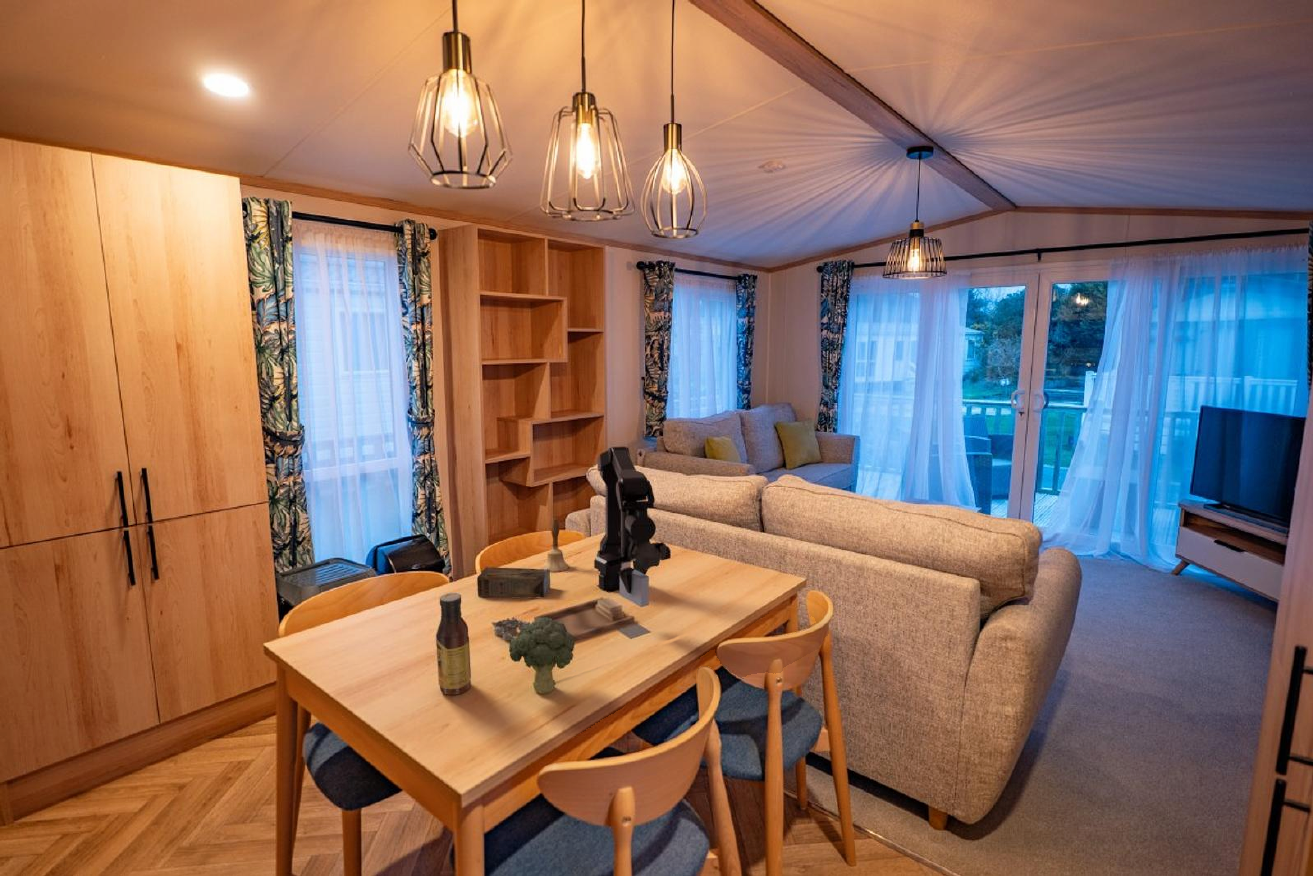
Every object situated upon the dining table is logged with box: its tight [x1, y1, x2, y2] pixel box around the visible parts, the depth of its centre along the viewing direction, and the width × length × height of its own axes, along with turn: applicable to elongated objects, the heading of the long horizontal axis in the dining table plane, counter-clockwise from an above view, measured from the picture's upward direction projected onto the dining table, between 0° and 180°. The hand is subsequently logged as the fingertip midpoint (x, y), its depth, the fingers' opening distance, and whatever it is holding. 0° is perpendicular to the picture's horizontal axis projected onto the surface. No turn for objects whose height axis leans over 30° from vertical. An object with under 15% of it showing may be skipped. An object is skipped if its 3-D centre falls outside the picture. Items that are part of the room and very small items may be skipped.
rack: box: [533, 597, 635, 642], centre depth 153 cm, size 20×15×2 cm
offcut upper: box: [598, 597, 623, 614], centre depth 157 cm, size 4×6×2 cm, turn 37°
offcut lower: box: [596, 604, 625, 621], centre depth 158 cm, size 4×8×2 cm, turn 37°
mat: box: [616, 622, 652, 640], centre depth 148 cm, size 6×6×1 cm
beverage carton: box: [476, 566, 551, 598], centre depth 172 cm, size 8×19×7 cm, turn 88°
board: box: [619, 569, 650, 608], centre depth 147 cm, size 2×9×7 cm, turn 37°
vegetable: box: [508, 617, 575, 695], centre depth 122 cm, size 12×13×15 cm
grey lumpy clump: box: [491, 617, 532, 643], centre depth 146 cm, size 11×8×4 cm
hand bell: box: [541, 517, 570, 573], centre depth 191 cm, size 8×8×16 cm
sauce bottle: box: [435, 592, 472, 696], centre depth 122 cm, size 6×6×20 cm
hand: (633, 591), depth 147 cm, fingers closed on board, 2 cm apart
